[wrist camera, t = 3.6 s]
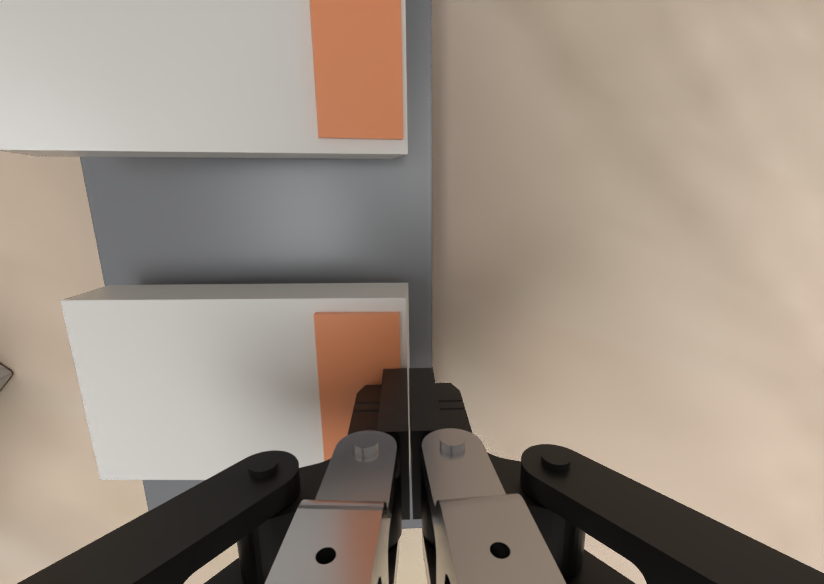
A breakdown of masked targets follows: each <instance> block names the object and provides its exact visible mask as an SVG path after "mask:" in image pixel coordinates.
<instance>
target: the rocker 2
mask: <svg viewBox="0 0 824 584" xmlns="http://www.w3.org/2000/svg"><path fill="white" fill-rule="evenodd" d="M60 301H61V305H62V310H63V314H64V319H65V323H66V328H67V332H68V337H69V341H70V346H71V350H72V355H73V359H74V364H75V368H76V373H77V377H78V382H79V386H80V391H81V395H82V400H83V404H84V409H85V413H86V418H87V422H88V427H89V431H90V436H91V440H92V445H93V449H94V454H95V458H96V463H97V467H98V472H99V476H100V480H207V479H208V478H210V477H212V476H214V475H216V474H217V473H219V472H221V471H223V470H225V469H227V468H228V467H230V466H232V465H234V464H236V463H238V462H239V461H241V460H243V459H245V458H247V457H249V456H251V455H254V454H256V453H260V452H264V451H272V450H279V451H285V452H289V453H291V454H293V455H294V456H295V457H296V458H297V460H298V462H299V468H301V467H305V466H309V465H313V464H317V463H321V462H323V461H326V460H328V459H330V458H331V457H332V455H333V452H334V449H335V447H336V445H337V443H338V442H339V441H340V440H341V439H342V438H344V437H345V436H347V435H348V430H349V426H350V422H351V417H352V413H353V408H354V404H355V399H356V395H357V393H358V392H359V391H360V390H361V389H362V388H363V387H364V386H365V385H381V384H382V375H383V369H396V368H407V392H408V424H409V475H410V416H409V368H410V359H409V297H408V283H292V284H172V285H109V286H106V287H102V288H99V289H96V290H93V291H89V292H86V293H83V294H80V295H76V296H73V297H70V298H67V299H64V300H60Z"/></svg>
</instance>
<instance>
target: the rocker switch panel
mask: <svg viewBox="0 0 824 584" xmlns="http://www.w3.org/2000/svg"><path fill="white" fill-rule="evenodd" d="M405 7H406V73H407V139H408V154H407V155H403V156H400V157H396V158H393V159H326V158H193V157H80V160H81V165H82V170H83V176H84V181H85V186H86V191H87V196H88V201H89V206H90V212H91V217H92V222H93V227H94V232H95V237H96V242H97V248H98V253H99V258H100V263H101V268H102V273H103V279H104V284H105V287H106V286H109V285H172V284H292V283H408V297H409V359H410V368H432V127H431V0H405ZM409 480H410V520H402V529H406V528H422V519H413V508H412V480H411V452H410V475H409ZM203 481H205V480H143V485H144V490H145V495H146V500H147V505H148V510H149V511H150V510H152V509H154V508H156V507H157V506H159V505H161V504H163V503H165V502H167V501H168V500H170V499H172V498H174V497H176V496H177V495H179V494H181V493H183V492H185V491H187V490H188V489H190V488H192V487H194V486H196V485H197V484H199V483H201V482H203Z"/></svg>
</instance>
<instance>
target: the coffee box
mask: <svg viewBox="0 0 824 584" xmlns="http://www.w3.org/2000/svg"><path fill="white" fill-rule="evenodd" d="M11 375H12V373H11V371H10V370H8V369H7V368H5V367H4V366H2V365H1V364H0V390H1V388H2V387H3V386H4V385H5V383H6V382H7V381H8V379H9V378H10V377H11Z"/></svg>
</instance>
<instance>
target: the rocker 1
mask: <svg viewBox="0 0 824 584" xmlns="http://www.w3.org/2000/svg"><path fill="white" fill-rule="evenodd" d="M0 151H4V152H11V153H18V154H25V155H32V156H61V157H193V158H326V159H393V158H396V157H400V156H403V155H407V154H408V139H407V73H406V7H405V0H0Z"/></svg>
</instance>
